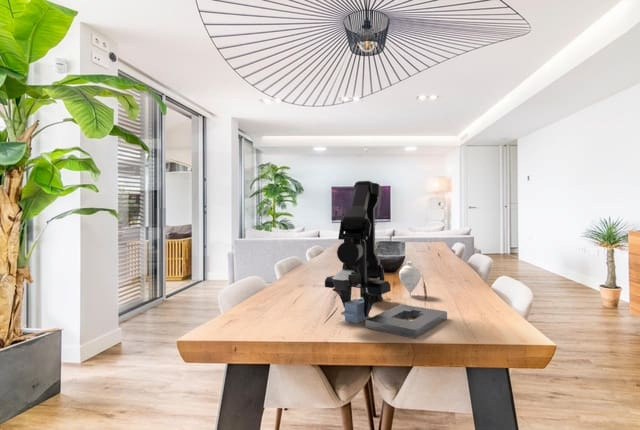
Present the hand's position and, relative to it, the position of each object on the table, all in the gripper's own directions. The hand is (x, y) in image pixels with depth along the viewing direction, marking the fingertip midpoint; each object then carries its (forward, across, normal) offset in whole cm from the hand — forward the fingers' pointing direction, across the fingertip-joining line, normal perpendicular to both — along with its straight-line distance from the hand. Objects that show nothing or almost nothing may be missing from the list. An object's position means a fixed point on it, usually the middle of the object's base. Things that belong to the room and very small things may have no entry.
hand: (356, 314), depth 103 cm
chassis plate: (+1, +13, +5) cm, 14 cm away
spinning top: (+1, -1, +36) cm, 36 cm away
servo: (+1, 0, 0) cm, 1 cm away
